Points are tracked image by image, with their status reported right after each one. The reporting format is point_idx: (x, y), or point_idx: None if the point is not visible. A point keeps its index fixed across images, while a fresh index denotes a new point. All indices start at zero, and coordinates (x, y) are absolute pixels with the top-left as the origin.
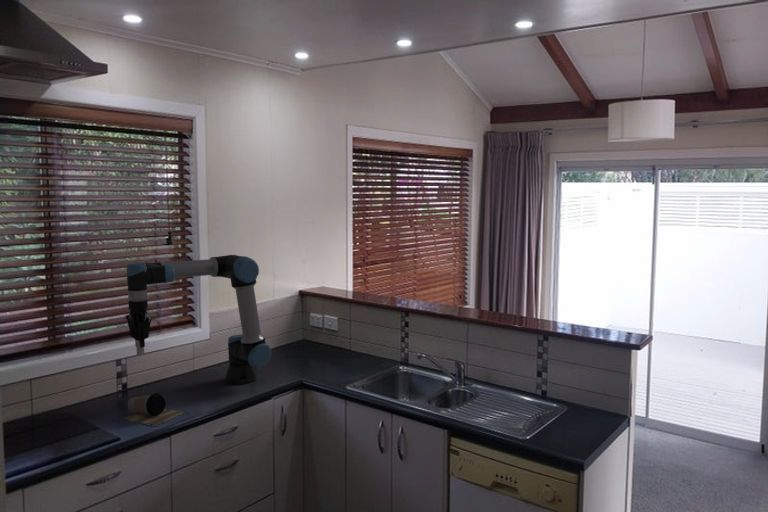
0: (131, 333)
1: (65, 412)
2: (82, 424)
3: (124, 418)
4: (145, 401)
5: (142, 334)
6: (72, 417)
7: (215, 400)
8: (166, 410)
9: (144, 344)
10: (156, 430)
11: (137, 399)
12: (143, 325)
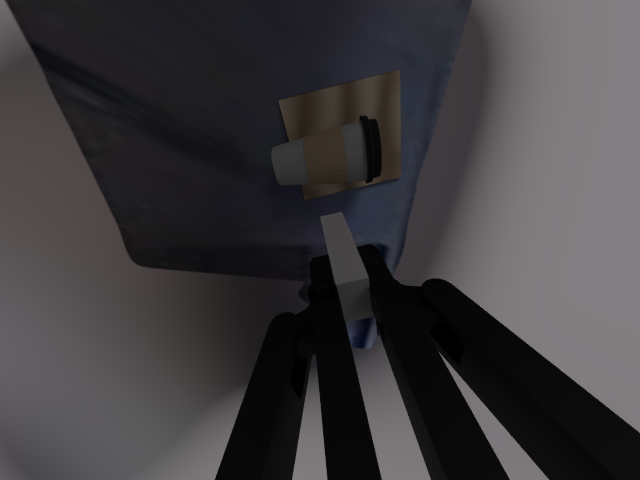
0: (294, 388)
1: (164, 251)
2: (264, 256)
3: (307, 199)
4: (356, 180)
5: (446, 359)
6: (208, 253)
7: None
8: (345, 96)
9: (380, 256)
10: (415, 187)
11: (317, 181)
12: (496, 475)
